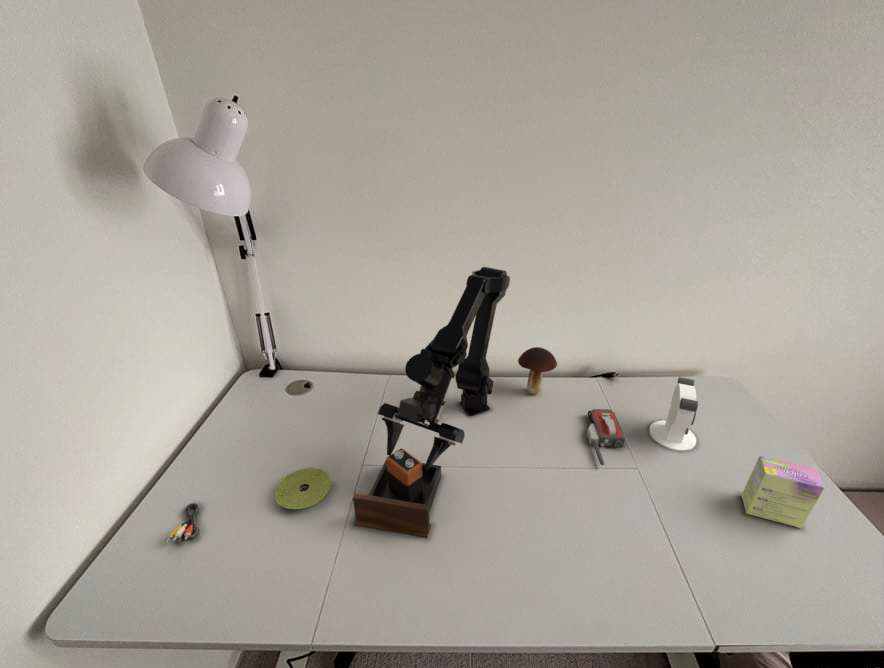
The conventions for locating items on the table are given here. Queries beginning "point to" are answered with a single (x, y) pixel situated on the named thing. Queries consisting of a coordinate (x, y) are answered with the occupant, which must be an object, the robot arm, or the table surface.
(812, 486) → the box
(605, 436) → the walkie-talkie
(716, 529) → the table surface
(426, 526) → the wooden drawer
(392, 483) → the battery
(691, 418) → the white upright stand
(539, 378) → the decorative mushroom
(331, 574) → the table surface
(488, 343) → the robot arm
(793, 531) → the table surface
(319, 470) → the mat
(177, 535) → the composite cable
